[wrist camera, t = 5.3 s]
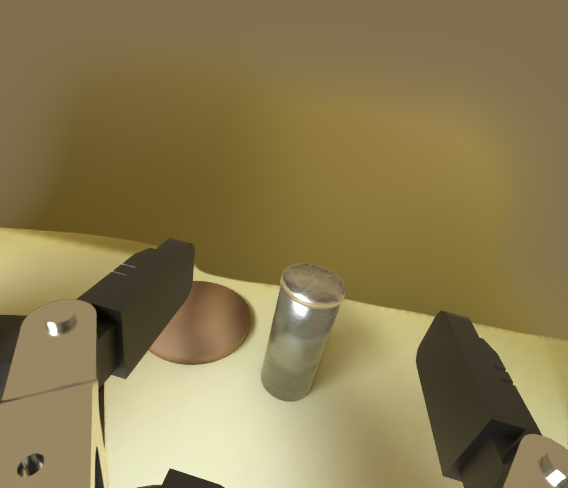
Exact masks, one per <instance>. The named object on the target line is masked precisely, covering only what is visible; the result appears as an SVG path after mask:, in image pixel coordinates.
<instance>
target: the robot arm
mask: <svg viewBox="0 0 568 488" xmlns="http://www.w3.org/2000/svg"><path fill="white" fill-rule="evenodd" d="M194 254H195V247H194V244H192V243H188V242H185V241H181V240H177V239H174V238H169V239H167V240H166V241H165V242H164V243H163V244H162V245H160V246H159V247H158V248H157V249H153V248H149V249H146V250H144V251H141V252H138V253H136V254H134V255H133V256H131V257H130V258H129V259H128V260H126V261H125V262H124V263H123V265H120V266H119V267H117V268H116V269H115V270H114V272H111V273H110V274H108V275H107V276H106V277H105V278H103V279H102V280H101V281H99V282H98V283H97V284H96V285H94V286H93V287H92V288H90V289H89V290H88V291H87V292H85V293H84V294H83V295H82V296H80V297H79V298H78V299H76V300H61V301H56V302H52V303H49V304H46V305H44V306H41V307H39V308H38V309H36V310H34V311H33V312H32V313H30V314H29V315H28V316H17V315H0V488H109V485H108V470H107V445H106V389H105V381H106V380H107V379H108V378H109V377H110V375H114V376H117V377H121V378H124V379H126V378H127V377H128V376H129V374H130V373H131V372H132V370H133V369H134V368H135V366H136V365H137V364H138V363H139V361H140V360H141V359H142V357H143V356H144V355H145V353H146V352H147V351H148V349H149V348H150V347H151V346H152V344H153V343H154V342H155V340H156V339H157V338H158V336H159V335H160V334H161V332H162V331H163V330H164V328H165V327H166V326H167V325H168V323H169V322H170V321H171V319H172V318H173V317H174V315H175V314H176V313H177V311H178V310H179V309H180V307H181V306H182V305H183V304H184V302H185V301H186V299H187V298H188V296H189V294H190V291H191V288H192V283H193V269H194ZM416 365H417V369H418V373H419V378H420V382H421V386H422V390H423V394H424V399H425V403H426V407H427V411H428V415H429V419H430V424H431V428H432V432H433V436H434V440H435V444H436V449H437V453H438V457H439V461H440V465H441V469H442V474H443V476H445V477H448V478H452V479H455V480H458V481H461V482H463V486H464V488H568V450H567V449H566V448H564V447H563V446H561V445H560V444H558V443H557V442H555V441H553V440H551V439H549V438H547V437H544V436H542V434H541V432H540V430H539V428H538V427H537V425H536V423H535V421H534V419H533V418H532V416H531V414H530V412H529V410H528V408H527V407H526V405H525V403H524V401H523V399H522V398H521V396H520V394H519V392H518V390H517V389H516V387H515V386H514V385H513V381H512V379H511V378H510V376H509V374H508V372H505V370H506V369H505V367H504V365H503V363H502V361H501V360H500V358H499V356H498V354H497V353H496V352H495V351H494V350H493V349H492V348H491V347H490V346H489V344H488V343H487V342H486V341H485V340H484V339H482V338H479V336H478V334H477V332H476V330H475V328H474V326H473V324H472V322H471V321H470V319H469V318H467V317H464V316H459V315H456V314H452V313H449V312H445V311H440V312H439V313H438V314H437V315H436V317H435V318H434V320H433V322H432V324H431V326H430V327H429V329H428V331H427V333H426V334H425V336H424V338H423V340H422V342H421V343H420V345H419V348H418V351H417V356H416ZM138 488H224V487H223V486H221V485H219V484H216V483H213V482H210V481H207V480H204V479H201V478H198V477H195V476H192V475H189V474H186V473H183V472H180V471H176V470H173V469H169V471H168V473H167V475H166V477H165V480H164V482H163V484H162V485H150V486H143V487H138Z"/></svg>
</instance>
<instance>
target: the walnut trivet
mask: <svg viewBox="0 0 568 488" xmlns="http://www.w3.org/2000/svg"><path fill="white" fill-rule="evenodd" d="M249 324H250V312H249V308H248V306H247V304H246V303H245V301H244V300H243V299H242V297H240V296H239V295H238V294H237V293H236V292H234V291H233V290H231V289H229V288H227V287H225V286H222V285H219V284H215V283H211V282H204V281H193V283H192V288H191V291H190V294H189V296H188V298H187V299H186V301H185V302H184V304H183V305H182V306H181V307H180V309H179V310H178V311H177V313H176V314H175V315H174V317H173V318H172V319H171V321H170V322H169V323H168V325H167V326H166V327H165V328H164V330H163V331H162V332H161V334H160V335H159V336H158V338H157V339H156V340H155V342H154V343H153V344H152V346H151V347H150V348H149V350H150V351H151V352H152V353H153V354H155V355H156V356H158V357H160V358H162V359H164V360H167V361H169V362H173V363H178V364H185V365H196V364H205V363H210V362H213V361H217V360H219V359H222V358H224V357H226V356H228V355H229V354H231V353H232V352H234V351H235V350H236V349H237V348H238V347H239V346H240V345H241V344H242V343H243V341H244V340H245V338H246V336H247V333H248V329H249Z"/></svg>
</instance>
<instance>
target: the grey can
mask: <svg viewBox="0 0 568 488" xmlns="http://www.w3.org/2000/svg"><path fill="white" fill-rule="evenodd" d="M345 293H346V287H345V284H344V282H343V281H342V280H341V279H340V278H339V277H338V276H337V275H336V274H335V273H333V272H332V271H330V270H328V269H325V268H323V267H321V266H317V265H313V264H295V265H291V266H289V267H287V268H286V269H285V270H284V271H283V273H282V278H281V287H280V292H279V296H278V301H277V305H276V309H275V314H274V318H273V323H272V327H271V331H270V336H269V340H268V345H267V349H266V354H265V358H264V362H263V367H262V371H261V380H262V383H263V386H264V388H265V389H266V390H267V391H268V392H269V393H270V394H271V395H272V396H274V397H275V398H277V399H280V400H283V401H297V400H300V399H302V398H304V397H305V396H306V395H307V394H308V393H309V391H310V389H311V386H312V383H313V380H314V378H315V375H316V372H317V369H318V366H319V363H320V361H321V358H322V355H323V352H324V349H325V346H326V343H327V341H328V338H329V335H330V332H331V329H332V326H333V324H334V321H335V318H336V315H337V312H338V309H339V306H340V304H341V303H342V301H343V299H344V296H345Z"/></svg>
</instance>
